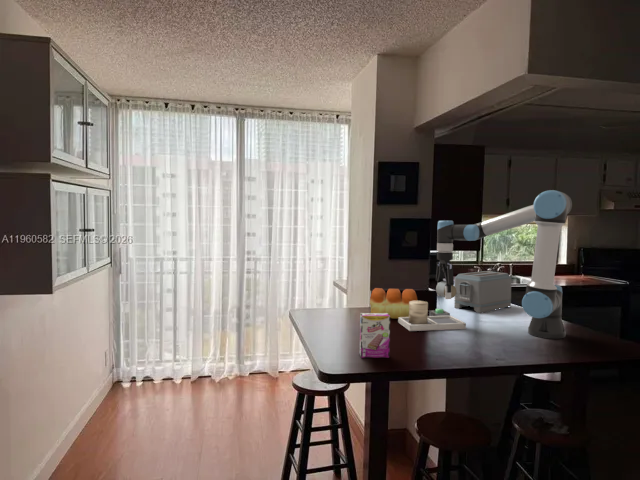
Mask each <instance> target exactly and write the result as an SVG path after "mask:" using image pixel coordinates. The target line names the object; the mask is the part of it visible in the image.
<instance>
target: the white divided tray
mask: <svg viewBox="0 0 640 480" xmlns="http://www.w3.org/2000/svg"><path fill="white" fill-rule="evenodd" d="M397 323H398V324H400V325H401V326H403V327H404V328H405V329H406V330H408V331H409V332H417V331H419V332H420V331H421V332H422V331H441V330H442V331H443V330H444V331H445V330H466V329H467V322H464V321H462V320H460V319H458V318H456V317H454V316H452V315H450V316H429V315H428V321H427V324H419V325H416V324H411V323H409V317H398V319H397Z"/></svg>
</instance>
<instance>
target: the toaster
mask: <svg viewBox="0 0 640 480" xmlns="http://www.w3.org/2000/svg"><path fill="white" fill-rule="evenodd" d="M454 286H455V288H456V293H458V294H460V296H459V297H456V296H454V305H453V306H454V308H455V309H458V308H459V309H463V308H462V307H465V308H470V307H471V308H473V310H474V312H475V313H477V312H478V313H477V314H482V312H483V313H488V312H487V311H489V312H492V311H491V310H494V311H496V310H495V309H499V308H504V307H508V306H511V307H512V305H511V304H512V276H511V275H510V274H509V273H507V272H498V271H489V270H486V271H485V270H484V271H475V272H466V273H465V272H464V273H458V274H457V275H456V276H455V277H454ZM468 306H470V307H468ZM499 310H500V309H499Z"/></svg>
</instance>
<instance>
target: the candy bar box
mask: <svg viewBox="0 0 640 480" xmlns="http://www.w3.org/2000/svg"><path fill="white" fill-rule="evenodd" d="M359 314H360V315H359V356H360V358H361V359H369V358H370V359H372V358H374V359H376V358H377V359H381V358H382V359H383V358H385V359H386V358H387V359H389V358H390V350H391V349H390V346H391V345H390V344H391V343H390V342H391V318H390V315H389V314H388V313H371V312H360V313H359Z"/></svg>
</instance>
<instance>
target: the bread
mask: <svg viewBox="0 0 640 480" xmlns="http://www.w3.org/2000/svg"><path fill="white" fill-rule="evenodd" d="M410 301H418V296H417V293H416V291H415V289H413V288H405V289H403V291H402V293H401V291H400V289H399V288H388V289H387V292H386V290H384V289H383V288H382V287H381V288H380V287H374V289H372V291H371V294H370V299H369V305H370V313H388V314H389V315H390V319H397V320H398V317H409V302H410Z"/></svg>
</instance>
